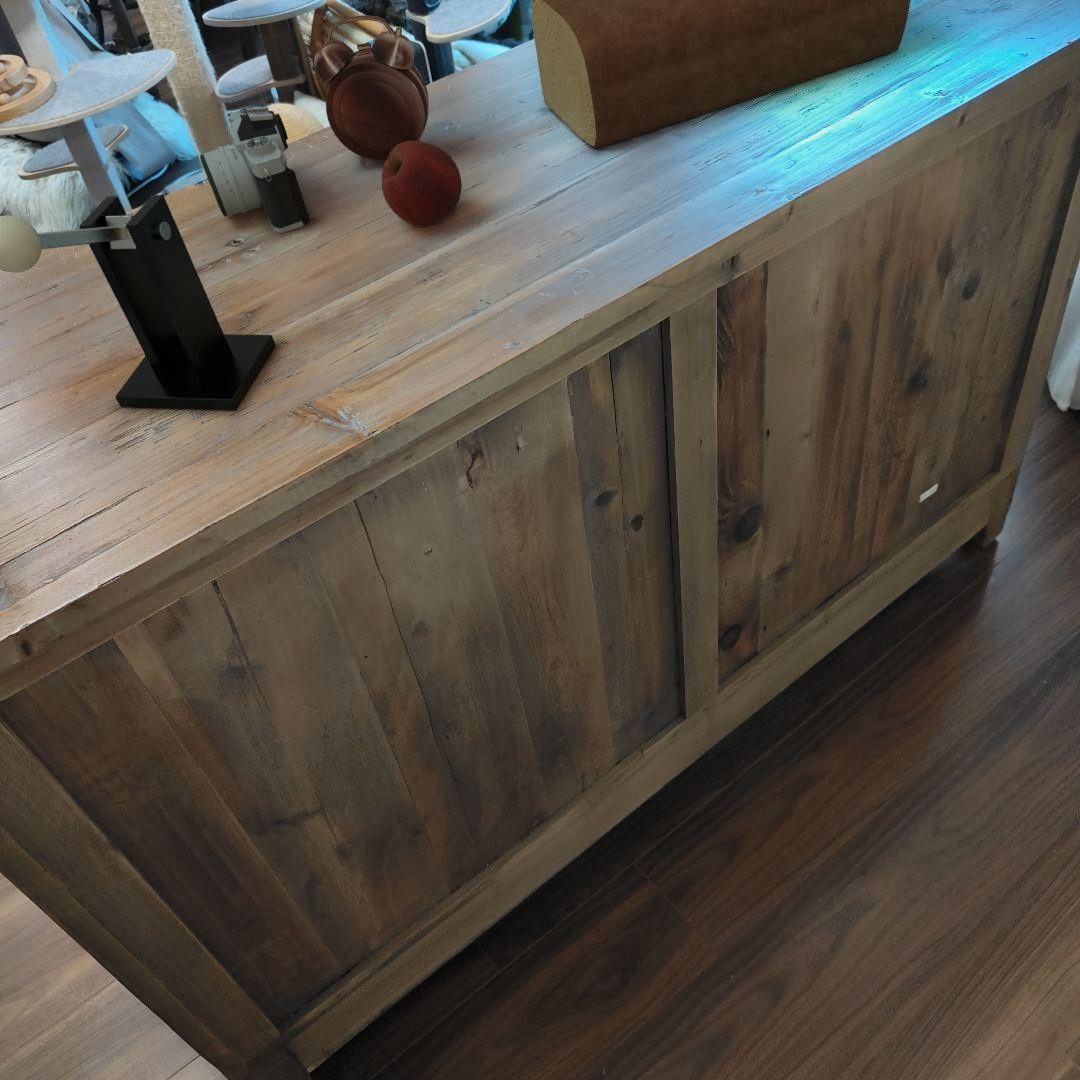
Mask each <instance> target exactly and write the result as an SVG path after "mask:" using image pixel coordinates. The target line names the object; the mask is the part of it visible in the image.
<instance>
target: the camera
mask: <svg viewBox="0 0 1080 1080" xmlns="http://www.w3.org/2000/svg"><path fill="white" fill-rule="evenodd" d="M228 121H229V126H228V128H227V130H228V135H229V137H230V139H231V141H232V143H229V144H227V145H220V146H219V145H218V146H217V149H214V150H211V151H207V152H204V153H202V154H200V155H199V158H200V162H201V165H202V168H203V170H204V173H205V175H206V178H207V180H208V183H209V185H210V188H211V190H212V193H213V195H214V198H215V201H216V203H217V205H218V207H219V210H220V213H221V214H222V216H223V217H225V218H227V217H230V216H233V215H237V214H240V213H243V214H247V213H248V212H249V211H252V210H255V209H259V208H262V209H263V211H264V214H265V215H266V218H267V219H268V221H269V224H270V226H271V227H272V229H273V231H274V232H275V233H278V234H284V233H287V232H291V231H293V230H296V229H300V228H302V227H305V226H306V225H307V226H308V225H309V224H310V221H311V218H310V213H309V212H308V210H307V209H308V208H307V206H306V203H305V200H304V197H303V194H302V192H301V188H300V185H299V182H298V178H297V174H296V172H295V170H294V169H292V168H290V167H288V165H287V164H288V161H287V160H288V159H287V156H286V153H285V152H286V150H287V149H289V145H288V141H287V140H289V137H288V134H287V130H286V127H285V124H284V121H283V119H282V117H281V114H280V113H275V111H273V110H269V107H268V106H262V107H261V106H260V107H255V106H246V107H243V108H241V109H239V110H237V111H235V112H233V113H230V114H229V117H228Z"/></svg>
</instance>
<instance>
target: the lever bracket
mask: <svg viewBox="0 0 1080 1080" xmlns="http://www.w3.org/2000/svg"><path fill="white" fill-rule="evenodd" d="M134 214H135V215H134V216H133V217H132V219H131V220H130V221H129V222H128V223H127V224H126V227H127V229H128V231H129V233H130V235H131V237H132V240H133V242H134V244H135V246H136V248H137V249H111V246H110V241H109V242H101V243H92V244H88V246H89V248H90V250H91V252H92V255H93V256H94V259H95V260H96V263H97V264H98V266H99V268H100V269H101V272H102V274H103V275H104V277H105V280H106V281H107V283H108V285H109V287H110V289H111V291H112V293H113V295H114V297H115V299H116V301H117V303H118V305H119V306H120V309H121V310H122V312H123V315H124V316H125V318H126V321H127V322H128V324H129V326H130V329H131V330H132V332H133V334H134V336H135V338H136V340H137V342H138V344H139V346H140V347H141V348H140V349H141V350H142V352H143V354H144V357H143V358H142V360H141V361H140V362H139V364H138V365H137V366H136V368H135V369H134V370H133V372H132V373H131V374H130V376H129V377H128V379H127V380H126V381H125V382H124V384H123V385H122V386H121V388H120V389H119V390H118V392H117V393H116V395H115V396H114V398H115V399H116V401H117V403H118V405H119V407H120V408H131V409H132V408H133V409H165V410H198V411H226V412H227V411H232V412H233V411H234V412H235V411H237V410H238V408H239V407H240V405H241V404H242V402H243V401H244V399H245V397H246V395H247V394H248V392H249V390H250V389H251V387H252V386H253V384H254V383H255V381H256V379H257V378H258V376H259V375H260V372H261V371H262V369H263V368H264V367H265V365H266V363H267V361H268V360H269V358H270V356H271V355H272V353H273V351H274V350H275V349H276V347H277V345H276V342H275V339H274V337H273V335H272V334H232V333H231V334H226V333H224V331H223V328H222V326H221V324H220V321H219V320H218V317H217V314H216V312H215V311H214V307H213V306H212V304H211V301H210V299H209V296H208V294H207V292H206V290H205V287H204V285H203V283H202V281H201V278H200V276H199V273H198V271H197V269H196V267H195V265H194V262H193V260H192V257H191V256H190V253H189V251H188V248H187V246H186V244H185V242H184V239H183V237H182V235H181V232H180V230H179V228H178V225H177V223H176V221H175V218H174V216H173V213H172V212H171V209H170V207H169V204H168V202H167V200H166V198H165V196H164V194H153V195H152V194H151V196H149V198H148V199H147V200H146V202H145V203H144V204H143V205H142V206H141V207H140V208H139V210H138V211H136V213H134ZM116 215H127V212H126V211H125V208H124V206H123V204H122V202H121V200H120V198H119V196H118V195H114V196H113V195H112V196H111V195H110V196H109V195H108V196H105V198H103V200H102V201H101V202H100V203H99V204H98V205H97V206H96V207H95V209H93V211H92V212H90V214H89V215H88V216H87V217H86V218H85V219H84V220H83V221H82V222H81V223H80V224H79V229H87V228H97V227H107V223H106V216H116Z"/></svg>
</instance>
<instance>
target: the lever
mask: <svg viewBox="0 0 1080 1080" xmlns="http://www.w3.org/2000/svg"><path fill="white" fill-rule="evenodd" d="M135 214H136V213H134V214H133V213H131V214H126V215H116V216H106V223H107V227H97V228H87V229H80V228H78V229H67V230H57V231H47V232H46V231H45V232H38V231H37V230H36V228H34V226H33V225H32V224H30V222H28V221H26V220H24V219H23V218H21V217H18V216H15V215H9V214H8V215H0V271H3V272H6V273H12V274H16V273H17V274H18V273H24V272H26V271H28V270H31V269H32V268H33V267H34V266H36V264H37V263H38V262H39V260H40V258H41V255H42V252H43V251H42V250H48V249H49V250H50V249H57V248H58V249H59V248H67V247H75V246H82V245H89V244H92V243H101V242H109V241H110V246H111V249H137V248H136V246H135V244H134V242H133V240H132V237H131V235H130V233H129V231H128V229H127V227H126V224H127V223H128V222H129V221H130V220H131V219H132V217H133V216H134V215H135Z"/></svg>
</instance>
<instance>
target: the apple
mask: <svg viewBox="0 0 1080 1080" xmlns="http://www.w3.org/2000/svg"><path fill="white" fill-rule="evenodd" d="M419 141H420V140H419ZM419 141H405V142H402V143H400V144H398V145H396V146H395V147H394V148H393V149H392V151H391V152H390V154H389V156H388V158H387V160H386V161H384V164H383V168H382V172H381V191H382V195H383V198H384V200H385V202H386V204H387V205H388V207H389V208H390V210H392V212H393V213H394V214H395V215H396V216H397V217H398V218H400V220H402V221H404V222H405V223H407V224H410V225H412V226H415V227H429V226H433V225H436V224H438V223H440V222H442V221H443V220H445V219H446V218H447V217H449V216H450V214H452V213H453V211H454V210H455V209H456V207H457V205H458V204H459V201H460V198H461V195H462V189H463V188H462V187H463V183H462V177H461V173H460V170H459V167H458V166H457V163H456V162H455V161H454V159H453V158H452V157H451V156H450V155H449V154H448V153H447V152H446V151H444V150H443V149H441V148H440V147H438V146H435V145H434V144H431V143H428V142H424V141H420V142H419Z"/></svg>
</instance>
